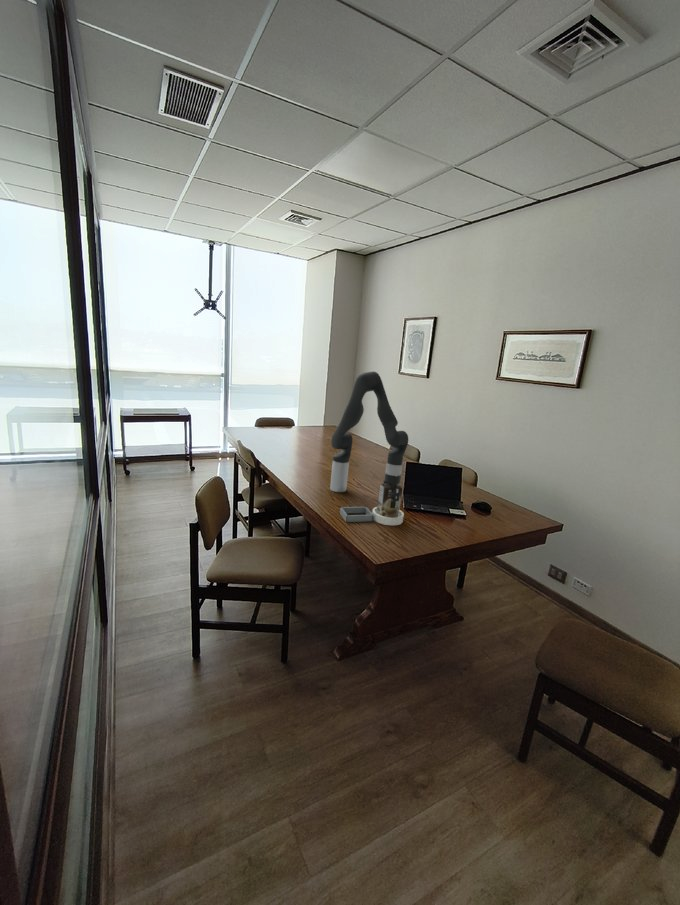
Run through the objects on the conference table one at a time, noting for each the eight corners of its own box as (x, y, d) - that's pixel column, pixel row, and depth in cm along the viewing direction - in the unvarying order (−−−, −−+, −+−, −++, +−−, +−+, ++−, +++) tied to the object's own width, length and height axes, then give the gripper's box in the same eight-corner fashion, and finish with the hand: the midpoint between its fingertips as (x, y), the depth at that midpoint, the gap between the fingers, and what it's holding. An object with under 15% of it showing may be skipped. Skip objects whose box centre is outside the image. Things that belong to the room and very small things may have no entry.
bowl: (367, 512, 199) (368, 506, 199) (395, 512, 204) (396, 505, 203) (378, 525, 186) (379, 518, 185) (407, 524, 190) (408, 518, 189)
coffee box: (380, 519, 191) (384, 487, 187) (376, 514, 197) (379, 483, 193) (398, 519, 193) (402, 488, 189) (393, 514, 199) (397, 483, 195)
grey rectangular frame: (339, 512, 196) (340, 507, 195) (365, 512, 200) (366, 506, 199) (345, 522, 186) (346, 516, 186) (373, 521, 190) (373, 515, 189)
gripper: (380, 468, 195) (376, 499, 198) (391, 477, 181) (387, 510, 185) (394, 468, 197) (390, 499, 201) (407, 477, 183) (402, 510, 187)
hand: (389, 504), depth 193 cm, fingers open, 8 cm apart
